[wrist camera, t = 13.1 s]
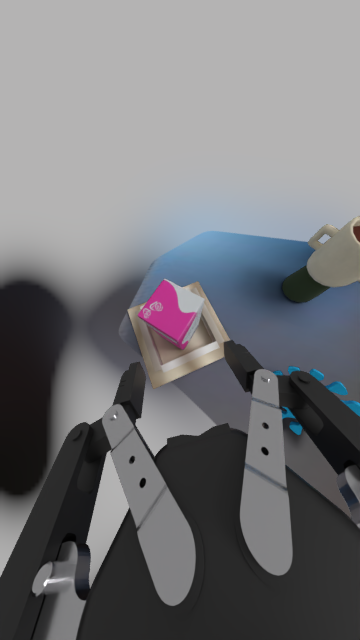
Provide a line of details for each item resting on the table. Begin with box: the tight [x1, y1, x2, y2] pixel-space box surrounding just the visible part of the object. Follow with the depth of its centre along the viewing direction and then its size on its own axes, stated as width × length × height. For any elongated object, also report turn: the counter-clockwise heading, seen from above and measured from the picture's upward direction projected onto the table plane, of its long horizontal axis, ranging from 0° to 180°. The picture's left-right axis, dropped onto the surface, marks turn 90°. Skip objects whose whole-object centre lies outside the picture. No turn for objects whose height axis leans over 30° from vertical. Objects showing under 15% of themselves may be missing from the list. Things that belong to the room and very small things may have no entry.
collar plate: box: [128, 282, 230, 389], centre depth 25 cm, size 16×16×4 cm
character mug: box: [282, 216, 360, 302], centre depth 22 cm, size 11×7×13 cm, turn 36°
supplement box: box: [137, 279, 205, 350], centre depth 20 cm, size 6×6×12 cm
